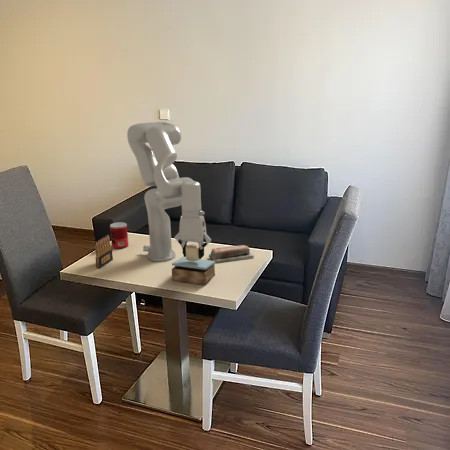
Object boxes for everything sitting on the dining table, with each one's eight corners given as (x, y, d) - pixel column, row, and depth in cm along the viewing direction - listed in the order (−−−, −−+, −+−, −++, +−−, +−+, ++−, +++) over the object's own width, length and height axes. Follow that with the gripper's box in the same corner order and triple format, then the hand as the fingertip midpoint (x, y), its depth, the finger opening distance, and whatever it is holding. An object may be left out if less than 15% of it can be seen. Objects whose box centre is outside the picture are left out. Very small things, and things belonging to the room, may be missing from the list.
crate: (172, 280, 190) (171, 269, 189) (182, 271, 199) (182, 259, 198) (205, 285, 186) (205, 273, 184) (214, 275, 195) (214, 264, 193)
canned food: (131, 244, 230) (129, 223, 227) (121, 250, 223) (119, 228, 220) (118, 242, 233) (116, 221, 230) (108, 248, 226) (106, 226, 223)
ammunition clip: (109, 259, 213) (107, 233, 209) (113, 259, 213) (110, 234, 209) (96, 268, 203) (93, 241, 200) (99, 268, 203) (97, 242, 199)
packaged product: (215, 253, 205) (208, 246, 214) (215, 264, 207) (209, 256, 216) (254, 248, 211) (246, 241, 220) (254, 258, 212) (246, 251, 221)
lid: (171, 265, 189) (171, 263, 188) (182, 259, 198) (182, 257, 198) (205, 269, 184) (205, 267, 184) (214, 263, 193) (214, 261, 193)
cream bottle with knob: (183, 260, 188) (183, 247, 187) (189, 254, 194) (189, 242, 192) (197, 261, 186) (197, 249, 185) (203, 256, 192) (202, 244, 190)
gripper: (215, 212, 185) (217, 255, 190) (175, 209, 190) (177, 251, 196) (208, 217, 178) (210, 262, 184) (167, 214, 184) (169, 257, 189)
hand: (193, 256), depth 190 cm, fingers closed on cream bottle with knob, 6 cm apart
